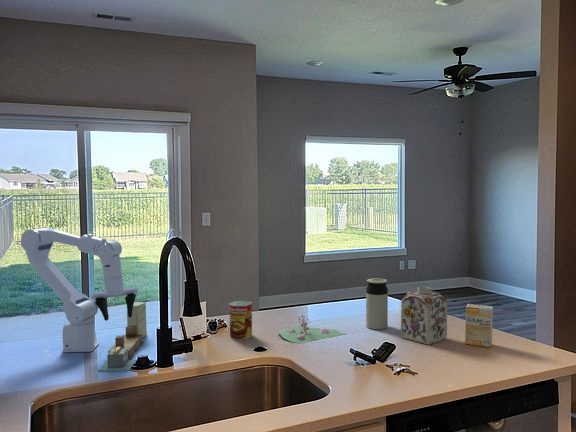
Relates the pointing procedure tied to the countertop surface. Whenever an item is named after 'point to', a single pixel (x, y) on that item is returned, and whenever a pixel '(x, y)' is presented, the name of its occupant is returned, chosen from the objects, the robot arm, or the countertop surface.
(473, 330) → the supplement box
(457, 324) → the countertop surface
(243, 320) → the canned food
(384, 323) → the travel mug
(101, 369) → the mat
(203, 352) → the countertop surface
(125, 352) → the lever cap
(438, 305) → the decorative jar
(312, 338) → the plant
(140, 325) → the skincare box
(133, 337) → the hand plane
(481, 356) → the countertop surface
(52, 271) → the robot arm
